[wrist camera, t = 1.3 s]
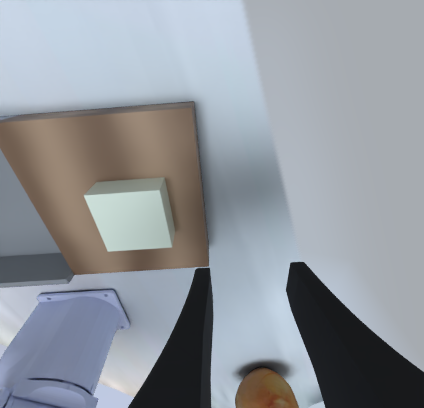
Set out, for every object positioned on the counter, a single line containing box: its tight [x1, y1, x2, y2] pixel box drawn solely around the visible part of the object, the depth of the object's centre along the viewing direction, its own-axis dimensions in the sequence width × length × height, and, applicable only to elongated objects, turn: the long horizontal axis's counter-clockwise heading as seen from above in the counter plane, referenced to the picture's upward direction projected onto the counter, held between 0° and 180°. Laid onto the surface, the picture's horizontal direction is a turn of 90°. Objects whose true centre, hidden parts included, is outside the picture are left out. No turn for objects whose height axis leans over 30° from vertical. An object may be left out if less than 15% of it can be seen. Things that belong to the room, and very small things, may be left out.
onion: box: [235, 367, 299, 408], centre depth 35 cm, size 10×10×10 cm
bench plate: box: [0, 102, 209, 275], centre depth 19 cm, size 13×14×3 cm
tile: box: [84, 177, 175, 252], centre depth 16 cm, size 5×5×2 cm
